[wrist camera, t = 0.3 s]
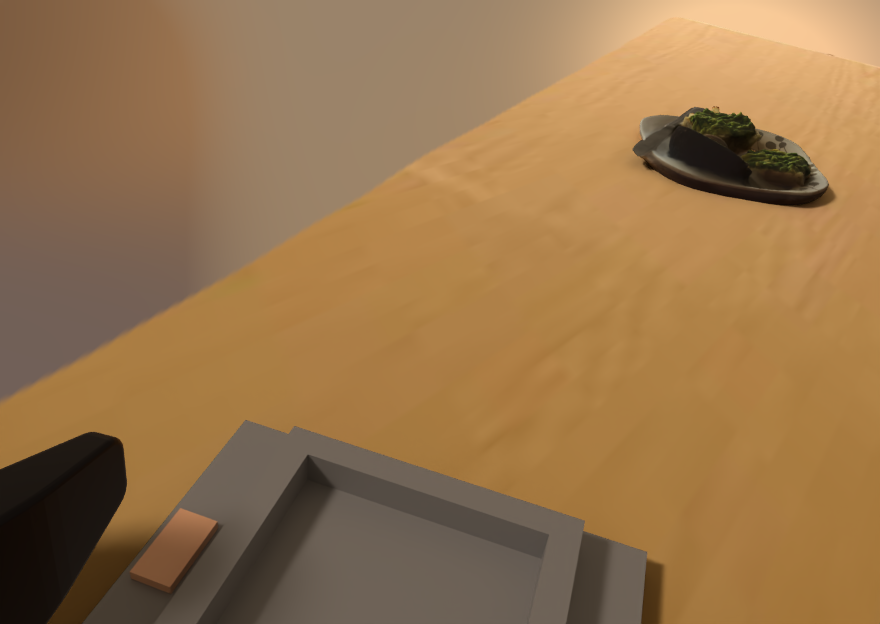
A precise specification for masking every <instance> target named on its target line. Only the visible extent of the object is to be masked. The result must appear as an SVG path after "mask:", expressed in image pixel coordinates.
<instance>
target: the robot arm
mask: <svg viewBox="0 0 880 624" xmlns="http://www.w3.org/2000/svg"><path fill="white" fill-rule="evenodd" d="M126 487H127V478H126V468H125V458H124V448H123V444H122V442H121V441H120V439H118V438H116V437H112V436H109V435H105V434H101V433H97V432H88V433H85V434H82V435H80V436H78V437H75V438H73V439H71V440H68V441H66V442H64V443H61V444H59V445H56V446H54V447H52V448H49V449H47V450H45V451H42V452H40V453H38V454H35V455H33V456H31V457H28V458H26V459H23V460H21V461H19V462H16V463H14V464H12V465H9V466H7V467H5V468H2V469H0V624H47V622H48V621H49V619H50V618H51V617H52V615H53V614H54V612H55V611H56V610H57V608H58V607H59V605H60V604H61V602H62V601H63V599H64V598H65V596H66V595H67V593H68V591H69V590H70V588H71V587H72V585H73V583H74V582H75V580H76V578H77V577H78V575H79V573H80V572H81V570H82V568H83V566H84V565H85V563H86V561H87V560H88V558H89V556H90V555H91V553H92V551H93V549H94V548H95V546H96V544H97V543H98V541H99V539H100V538H101V536H102V534H103V533H104V531H105V529H106V527H107V526H108V524H109V522H110V521H111V519H112V517H113V516H114V514H115V512H116V511H117V509H118V507H119V505H120V504H121V502H122V500H123V498H124V495H125V492H126Z"/></svg>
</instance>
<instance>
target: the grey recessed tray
mask: <svg viewBox="0 0 880 624" xmlns="http://www.w3.org/2000/svg"><path fill="white" fill-rule="evenodd" d="M584 523H585V521H584V520H581V519H578V518H575V517H572V516H568V515H565V514H562V513H559V512H556V511H553V510H550V509H547V508H544V507H541V506H538V505H535V504H532V503H529V502H526V501H523V500H519V499H516V498H513V497H510V496H507V495H504V494H501V493H498V492H495V491H492V490H489V489H486V488H483V487H480V486H477V485H473V484H470V483H467V482H464V481H461V480H458V479H455V478H452V477H449V476H446V475H443V474H440V473H437V472H434V471H431V470H427V469H424V468H421V467H418V466H415V465H412V464H409V463H406V462H403V461H400V460H397V459H394V458H391V457H388V456H385V455H382V454H378V453H375V452H372V451H369V450H366V449H363V448H360V447H357V446H354V445H351V444H348V443H345V442H342V441H339V440H336V439H332V438H329V437H326V436H323V435H320V434H317V433H314V432H311V431H308V430H305V429H302V428H299V427H296V426H294V427H293V429H292V430H291V432H290V433H289V434H287V433H284V432H281V431H278V430H275V429H272V428H269V427H266V426H262V425H259V424H256V423H253V422H250V421H247V420H245V421H244V423H243V424H242V425H241V426H240V428H239V429H238V430H237V431H236V433H235V434H234V435H233V436H232V438H231V439H230V440H229V441H228V443H227V444H226V445H225V446H224V447H223V449H222V450H221V451H220V452H219V454H218V455H217V456H216V457H215V459H214V460H213V461H212V462H211V464H210V465H209V466H208V467H207V469H206V470H205V471H204V472H203V474H202V475H201V476H200V477H199V479H198V480H197V481H196V482H195V484H194V485H193V486H192V487H191V489H190V490H189V491H188V492H187V494H186V495H185V496H184V497H183V499H182V500H181V501H180V502H179V503H178V505H177V506H176V507H175V508H174V510H173V511H172V512H171V513H170V515H169V516H168V517H167V518H166V520H165V521H164V522H163V523H162V525H161V526H160V527H159V528H158V530H157V531H156V532H155V533H154V535H153V536H152V537H151V538H150V540H149V541H148V542H147V543H146V545H145V546H144V547H143V548H142V550H141V551H140V552H139V553H138V555H137V556H136V557H135V558H134V560H133V561H132V562H131V563H130V564H129V566H128V567H127V568H126V569H125V571H124V572H123V573H122V574H121V576H120V577H119V578H118V579H117V581H116V582H115V583H114V584H113V586H112V587H111V588H110V589H109V591H108V592H107V593H106V594H105V596H104V597H103V598H102V599H101V601H100V602H99V603H98V604H97V606H96V607H95V608H94V609H93V611H92V612H91V613H90V614H89V616H88V617H87V618H86V619H85V620H84V622H83V623H82V624H641V617H642V605H643V594H644V582H645V571H646V559H647V552H645V551H642V550H639V549H636V548H633V547H630V546H627V545H624V544H621V543H618V542H615V541H612V540H609V539H606V538H603V537H600V536H597V535H594V534H591V533H588V532H585V531H583V528H584Z"/></svg>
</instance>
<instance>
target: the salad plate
mask: <svg viewBox="0 0 880 624" xmlns="http://www.w3.org/2000/svg"><path fill="white" fill-rule="evenodd" d="M640 135H641V137H642V140H641V141H640V142H638V143H637V144H636V145H635V146H634V148H633V151H634V152H635V154H636V155H637V156H640V157H641V158H643V159H644V160H645V161H646V162H648V163H649V164H650V165H651V167H652V168H653V169H655V170H656V171H657V172H659V173H660V174H662V175H663V176H665V177H667V178H668V179H670V180H672V181H674V182H677V183H679V184H681V185H684V186H687V187H690V188H693V189H696V190H700V191H704V192H708V193H713V194H718V195H722V196H727V197H732V198H739V199H744V200H750V201H755V202H761V203H767V204H776V205H800V204H805V203H808V202H811V201H813V200H815V199H817V198H819V197H821V196H822V195H823V194H824V193H825V191H826V190H827V187H828V185H829V184H828V181H827V179H826V178H825V177H824V176H823V174H822V173H821V172H820V171H819V170H818V169H817V168H816V167H815V165H814V164H813V163H812V162H811V160H810V157H808V156H807V155H806V153H805V152H804V151H803V150H802V148H801V147H799V146H798V145H797V144H796V143H794V142H792V141H790V140H788V139H786V138H784V137H781V136H779V135H776V134H773V133H770V132H767V131H763V130H760V129H755V126H754V125H753V123H752V122H751V119H749V118H748V116H744V115H742V113H741V112H740V113H739V114H738V115H736V114H735V113H732V114H728V115H727V114H724V113H720V112H719V107H713V108H712V111H710V110H709V109H707V108H706V109H704V108H699V107H694V108H691V109H689V110H688V111H686V112H685V113H684V114H682V115H681V116H680V117H678V116H669V115H657V116H650V117H646V118H644V119H642V120H641V123H640ZM751 149H753V150H755V151H756V152H754V151H752V150H751Z"/></svg>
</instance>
